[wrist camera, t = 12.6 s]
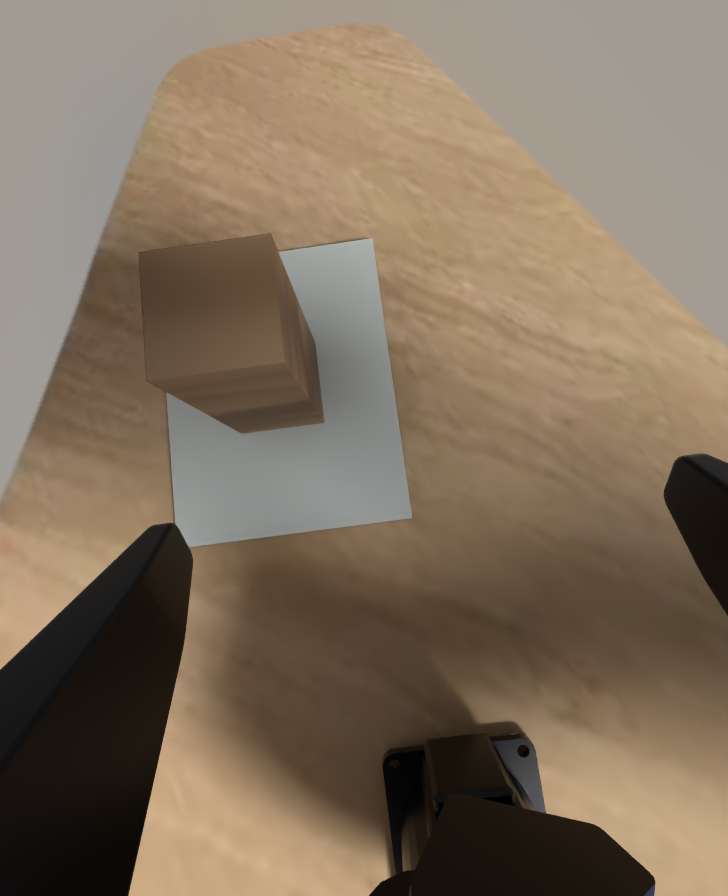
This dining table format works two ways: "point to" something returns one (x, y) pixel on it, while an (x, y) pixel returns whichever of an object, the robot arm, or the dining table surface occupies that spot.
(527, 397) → the dining table surface
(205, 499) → the mat
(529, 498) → the dining table surface
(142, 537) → the robot arm
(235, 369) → the walnut block
